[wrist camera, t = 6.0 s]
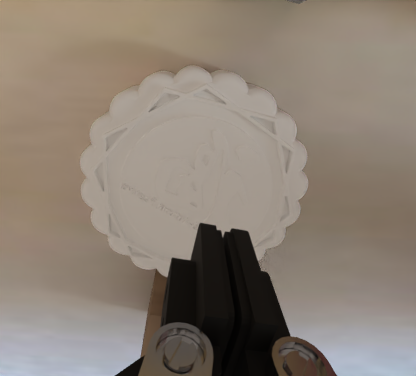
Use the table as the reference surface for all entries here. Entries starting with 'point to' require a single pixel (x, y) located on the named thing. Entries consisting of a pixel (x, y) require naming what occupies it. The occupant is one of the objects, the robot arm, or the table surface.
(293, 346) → the robot arm
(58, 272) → the table surface
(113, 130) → the mooncake
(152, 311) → the walnut block
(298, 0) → the slate-grey block
